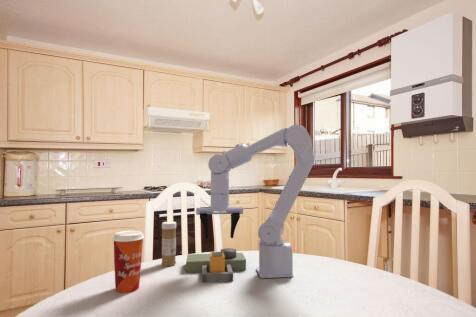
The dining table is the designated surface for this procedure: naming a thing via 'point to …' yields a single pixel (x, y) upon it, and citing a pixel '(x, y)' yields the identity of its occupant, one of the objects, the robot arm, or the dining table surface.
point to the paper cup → (127, 260)
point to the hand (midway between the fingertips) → (219, 237)
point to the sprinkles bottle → (168, 243)
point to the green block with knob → (203, 264)
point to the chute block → (217, 262)
